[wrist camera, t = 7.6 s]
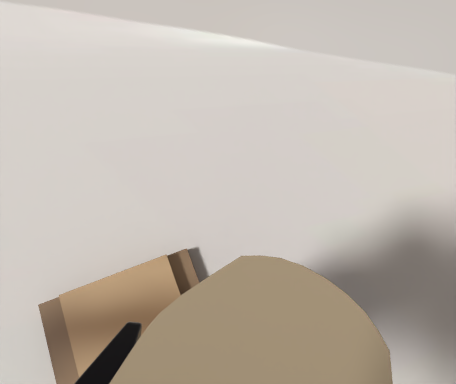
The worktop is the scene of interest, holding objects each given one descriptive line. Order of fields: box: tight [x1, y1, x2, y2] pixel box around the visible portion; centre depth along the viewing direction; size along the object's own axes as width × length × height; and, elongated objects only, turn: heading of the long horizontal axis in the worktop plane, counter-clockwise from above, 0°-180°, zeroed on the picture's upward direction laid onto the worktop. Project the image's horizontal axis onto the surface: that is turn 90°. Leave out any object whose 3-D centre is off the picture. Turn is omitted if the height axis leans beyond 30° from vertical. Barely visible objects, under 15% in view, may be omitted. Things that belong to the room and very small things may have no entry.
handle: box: [110, 256, 393, 384], centre depth 12 cm, size 5×6×15 cm
